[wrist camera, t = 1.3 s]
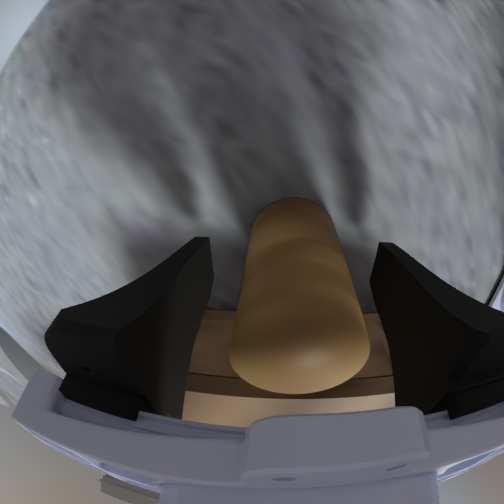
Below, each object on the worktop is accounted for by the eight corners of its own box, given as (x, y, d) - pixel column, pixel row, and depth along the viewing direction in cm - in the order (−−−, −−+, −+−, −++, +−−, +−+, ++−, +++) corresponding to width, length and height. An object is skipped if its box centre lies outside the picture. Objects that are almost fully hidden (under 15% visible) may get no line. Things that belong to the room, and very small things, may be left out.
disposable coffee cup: (175, 437, 31) (158, 511, 21) (114, 406, 28) (87, 485, 18) (218, 428, 27) (203, 521, 17) (145, 392, 24) (112, 496, 14)
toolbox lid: (412, 373, 12) (423, 416, 9) (356, 443, 17) (358, 471, 15) (155, 368, 13) (140, 411, 10) (195, 439, 19) (189, 466, 16)
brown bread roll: (339, 199, 12) (388, 311, 6) (329, 272, 14) (351, 392, 8) (249, 196, 12) (222, 308, 6) (252, 269, 15) (234, 391, 9)
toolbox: (391, 312, 15) (411, 372, 12) (351, 398, 21) (355, 442, 18) (178, 307, 16) (155, 366, 13) (204, 394, 22) (195, 438, 19)
